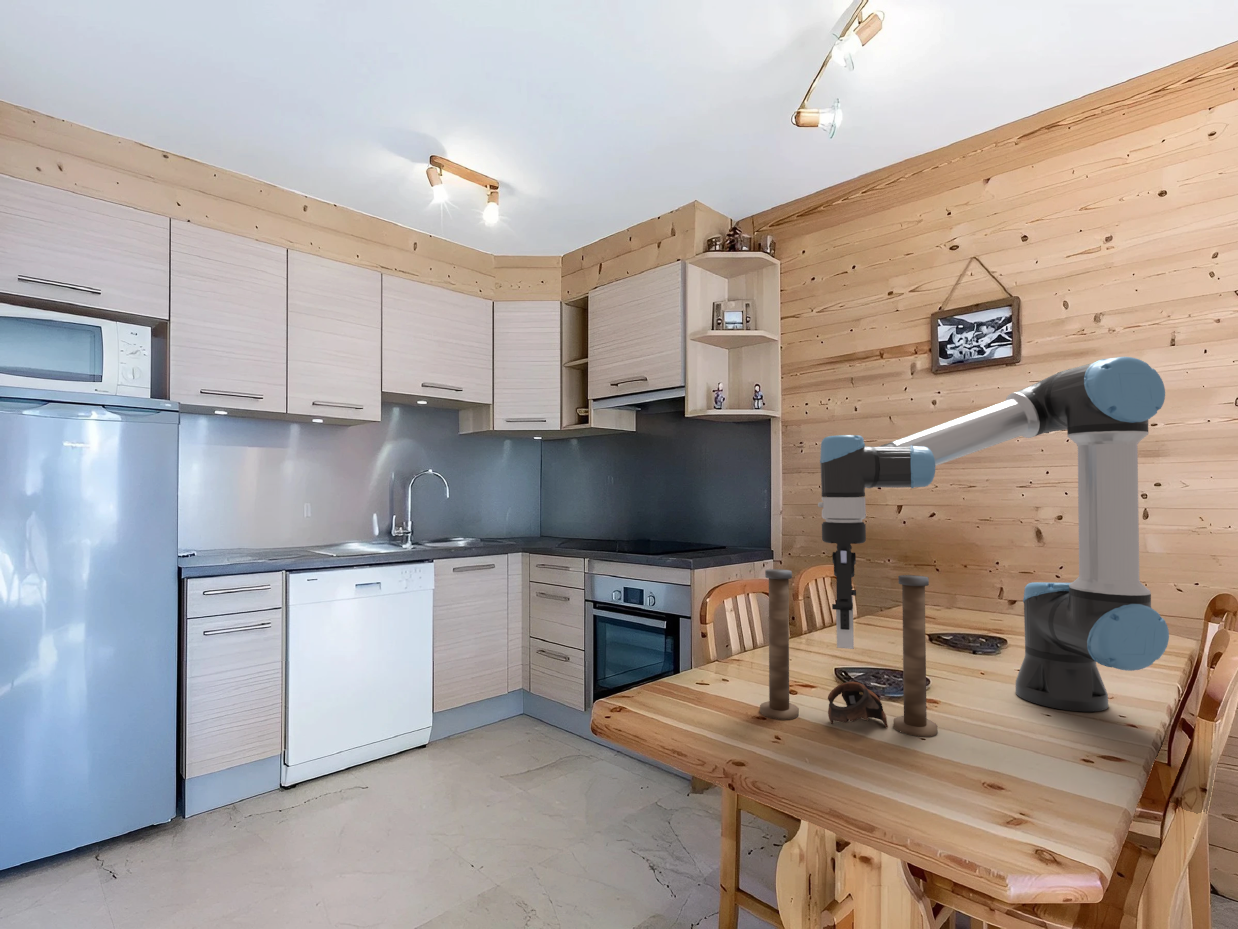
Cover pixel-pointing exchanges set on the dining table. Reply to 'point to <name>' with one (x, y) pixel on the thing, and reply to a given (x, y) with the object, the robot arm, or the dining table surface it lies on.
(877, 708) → the broken pottery shard
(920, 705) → the post
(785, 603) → the post
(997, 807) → the dining table surface
